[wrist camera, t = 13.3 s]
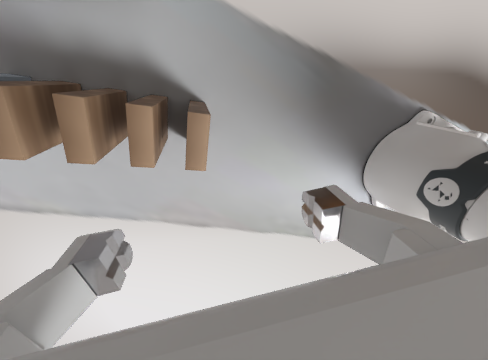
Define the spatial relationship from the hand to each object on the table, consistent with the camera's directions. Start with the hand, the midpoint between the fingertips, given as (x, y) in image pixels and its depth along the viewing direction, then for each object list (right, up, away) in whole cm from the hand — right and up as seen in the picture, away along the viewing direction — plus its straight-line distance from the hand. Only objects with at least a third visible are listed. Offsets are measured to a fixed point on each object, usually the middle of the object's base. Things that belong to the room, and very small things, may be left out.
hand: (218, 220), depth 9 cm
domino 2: (-14, +10, +14) cm, 22 cm away
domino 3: (-9, +10, +15) cm, 20 cm away
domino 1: (-18, +10, +13) cm, 24 cm away
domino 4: (-5, +9, +17) cm, 20 cm away
